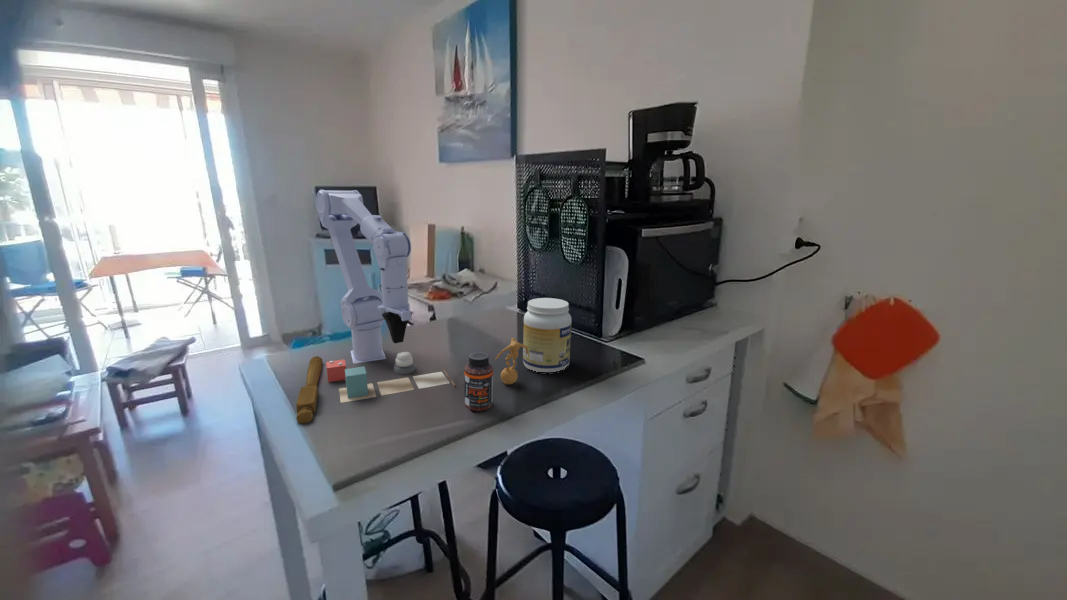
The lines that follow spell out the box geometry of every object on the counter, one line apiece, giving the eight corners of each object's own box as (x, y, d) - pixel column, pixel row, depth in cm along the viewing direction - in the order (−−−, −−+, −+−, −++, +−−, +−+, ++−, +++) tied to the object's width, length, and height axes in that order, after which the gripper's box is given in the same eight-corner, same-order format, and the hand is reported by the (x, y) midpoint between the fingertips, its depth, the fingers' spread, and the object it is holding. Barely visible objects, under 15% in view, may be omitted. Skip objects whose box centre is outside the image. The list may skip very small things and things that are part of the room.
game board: (333, 389, 96) (333, 386, 95) (444, 370, 107) (444, 368, 106) (336, 409, 87) (335, 407, 87) (455, 387, 98) (455, 385, 98)
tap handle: (322, 354, 108) (312, 411, 81) (323, 366, 108) (313, 426, 82) (308, 356, 106) (293, 414, 80) (310, 367, 107) (295, 429, 80)
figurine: (520, 377, 104) (521, 330, 101) (532, 387, 99) (534, 338, 96) (489, 383, 100) (489, 335, 97) (500, 394, 95) (500, 343, 92)
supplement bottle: (466, 414, 87) (465, 362, 84) (462, 400, 92) (461, 351, 89) (495, 410, 88) (495, 359, 85) (490, 397, 94) (490, 349, 91)
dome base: (392, 369, 106) (392, 363, 106) (413, 366, 108) (412, 360, 108) (396, 377, 102) (395, 370, 101) (417, 374, 104) (416, 367, 104)
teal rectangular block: (346, 390, 94) (344, 369, 93) (366, 387, 96) (364, 366, 94) (348, 398, 90) (345, 376, 89) (368, 394, 92) (366, 373, 91)
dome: (394, 361, 105) (393, 352, 105) (411, 359, 107) (410, 350, 107) (397, 367, 102) (396, 358, 101) (414, 365, 104) (413, 356, 103)
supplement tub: (566, 377, 104) (569, 310, 100) (517, 372, 107) (518, 306, 102) (571, 358, 116) (575, 298, 112) (528, 354, 118) (529, 294, 114)
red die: (327, 377, 101) (326, 360, 100) (346, 374, 103) (344, 357, 102) (328, 384, 98) (326, 366, 97) (347, 381, 99) (345, 363, 98)
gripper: (367, 281, 102) (371, 336, 105) (387, 294, 90) (391, 355, 94) (397, 278, 106) (400, 331, 109) (419, 290, 94) (421, 348, 98)
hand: (397, 341), depth 102 cm, fingers closed
